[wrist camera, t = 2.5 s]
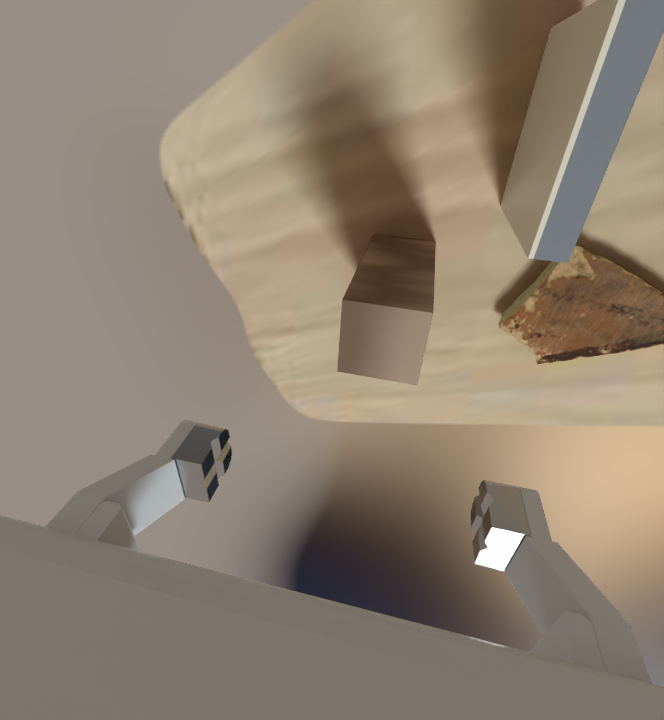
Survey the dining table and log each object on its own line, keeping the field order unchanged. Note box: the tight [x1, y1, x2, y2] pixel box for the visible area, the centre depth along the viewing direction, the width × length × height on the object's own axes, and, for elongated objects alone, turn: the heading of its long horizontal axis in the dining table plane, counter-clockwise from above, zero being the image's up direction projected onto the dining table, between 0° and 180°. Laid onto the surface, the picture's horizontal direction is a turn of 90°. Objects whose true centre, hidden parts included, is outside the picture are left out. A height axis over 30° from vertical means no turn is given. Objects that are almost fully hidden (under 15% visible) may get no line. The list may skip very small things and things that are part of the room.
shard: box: [499, 245, 664, 364], centre depth 25 cm, size 11×8×2 cm
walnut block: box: [338, 234, 436, 385], centre depth 22 cm, size 4×4×10 cm
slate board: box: [500, 0, 664, 263], centre depth 17 cm, size 2×8×9 cm, turn 177°
